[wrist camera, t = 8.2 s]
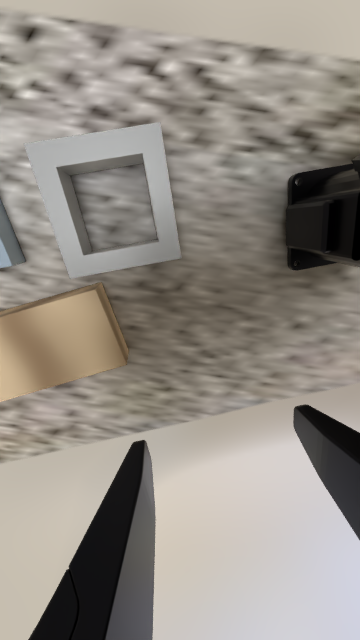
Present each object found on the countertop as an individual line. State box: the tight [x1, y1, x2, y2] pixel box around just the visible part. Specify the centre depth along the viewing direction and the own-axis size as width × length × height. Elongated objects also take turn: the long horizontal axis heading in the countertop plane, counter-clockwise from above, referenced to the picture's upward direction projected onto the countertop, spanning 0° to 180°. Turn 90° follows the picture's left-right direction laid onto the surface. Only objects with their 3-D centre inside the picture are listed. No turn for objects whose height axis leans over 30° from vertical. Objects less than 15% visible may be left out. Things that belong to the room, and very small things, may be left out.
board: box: [0, 282, 129, 402], centre depth 18 cm, size 10×6×2 cm, turn 105°
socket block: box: [24, 122, 181, 279], centre depth 15 cm, size 7×7×2 cm
